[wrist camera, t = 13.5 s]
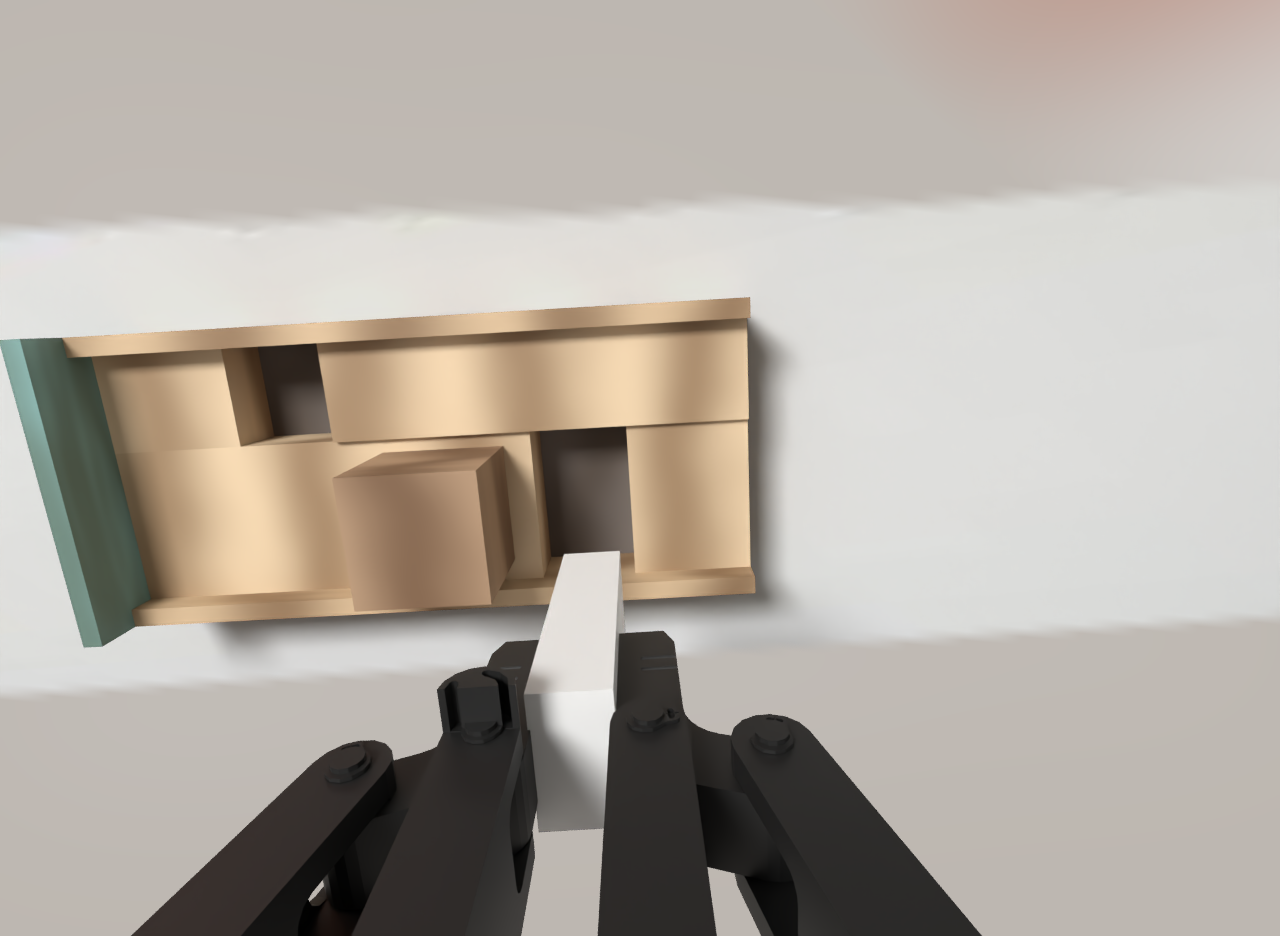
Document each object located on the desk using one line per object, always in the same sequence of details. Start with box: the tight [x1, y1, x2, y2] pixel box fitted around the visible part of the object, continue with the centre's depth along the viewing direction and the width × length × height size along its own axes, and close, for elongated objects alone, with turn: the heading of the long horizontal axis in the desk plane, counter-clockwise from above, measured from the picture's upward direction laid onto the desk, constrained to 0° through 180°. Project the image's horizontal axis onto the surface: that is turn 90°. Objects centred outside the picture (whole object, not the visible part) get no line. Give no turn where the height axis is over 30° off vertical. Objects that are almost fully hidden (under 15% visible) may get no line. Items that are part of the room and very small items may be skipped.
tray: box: [0, 297, 755, 647], centre depth 26 cm, size 27×12×6 cm, turn 93°
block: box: [332, 446, 515, 612], centre depth 25 cm, size 5×5×4 cm
